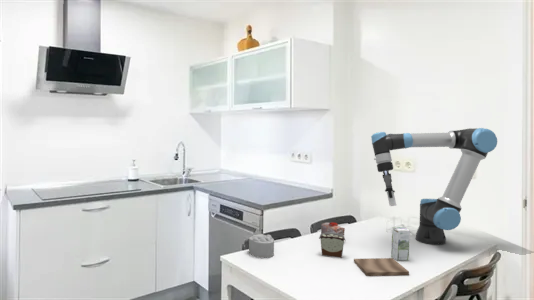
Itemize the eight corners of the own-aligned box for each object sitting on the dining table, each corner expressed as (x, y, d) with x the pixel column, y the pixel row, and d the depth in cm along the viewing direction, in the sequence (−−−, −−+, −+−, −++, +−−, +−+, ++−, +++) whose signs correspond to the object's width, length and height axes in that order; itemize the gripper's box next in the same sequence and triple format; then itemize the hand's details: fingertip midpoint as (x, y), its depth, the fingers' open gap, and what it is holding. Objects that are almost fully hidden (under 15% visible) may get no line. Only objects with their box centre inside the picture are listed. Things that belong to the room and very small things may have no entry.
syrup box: (402, 256, 172) (403, 226, 171) (409, 260, 166) (410, 229, 165) (390, 256, 171) (391, 226, 170) (397, 261, 165) (398, 230, 164)
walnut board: (392, 261, 165) (392, 258, 165) (408, 275, 149) (409, 271, 149) (353, 262, 163) (353, 258, 163) (366, 276, 147) (366, 272, 147)
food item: (346, 242, 192) (347, 224, 192) (335, 244, 188) (335, 226, 188) (329, 236, 204) (329, 218, 203) (318, 238, 200) (318, 220, 199)
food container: (346, 254, 173) (347, 233, 173) (345, 258, 168) (345, 237, 167) (321, 251, 177) (321, 231, 177) (318, 255, 172) (319, 234, 171)
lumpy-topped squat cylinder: (264, 248, 181) (264, 231, 181) (279, 255, 170) (279, 237, 170) (246, 251, 175) (246, 234, 175) (260, 260, 164) (260, 241, 164)
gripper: (378, 167, 193) (386, 207, 188) (374, 160, 170) (383, 206, 165) (392, 164, 190) (401, 204, 186) (391, 157, 168) (400, 203, 163)
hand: (393, 205), depth 175 cm, fingers open, 13 cm apart
